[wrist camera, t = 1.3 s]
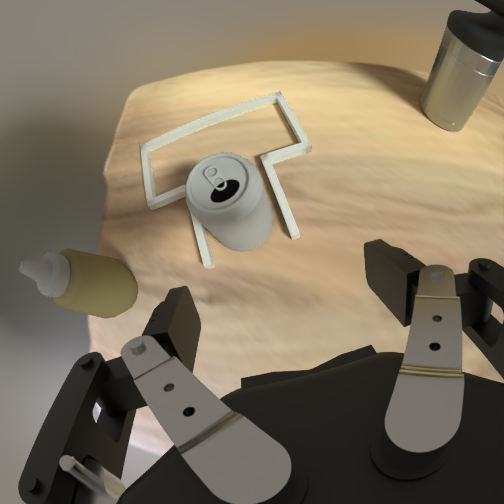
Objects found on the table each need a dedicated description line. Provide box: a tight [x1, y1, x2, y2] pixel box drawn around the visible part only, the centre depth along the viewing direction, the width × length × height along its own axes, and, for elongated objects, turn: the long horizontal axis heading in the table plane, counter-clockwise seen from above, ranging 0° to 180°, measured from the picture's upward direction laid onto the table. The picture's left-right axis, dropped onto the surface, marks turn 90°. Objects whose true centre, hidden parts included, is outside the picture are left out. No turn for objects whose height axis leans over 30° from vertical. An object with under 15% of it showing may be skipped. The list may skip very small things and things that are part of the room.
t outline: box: [140, 92, 312, 269], centre depth 36 cm, size 23×24×2 cm
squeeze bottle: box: [19, 249, 138, 318], centre depth 27 cm, size 8×8×18 cm
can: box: [186, 152, 273, 251], centre depth 29 cm, size 8×8×12 cm
